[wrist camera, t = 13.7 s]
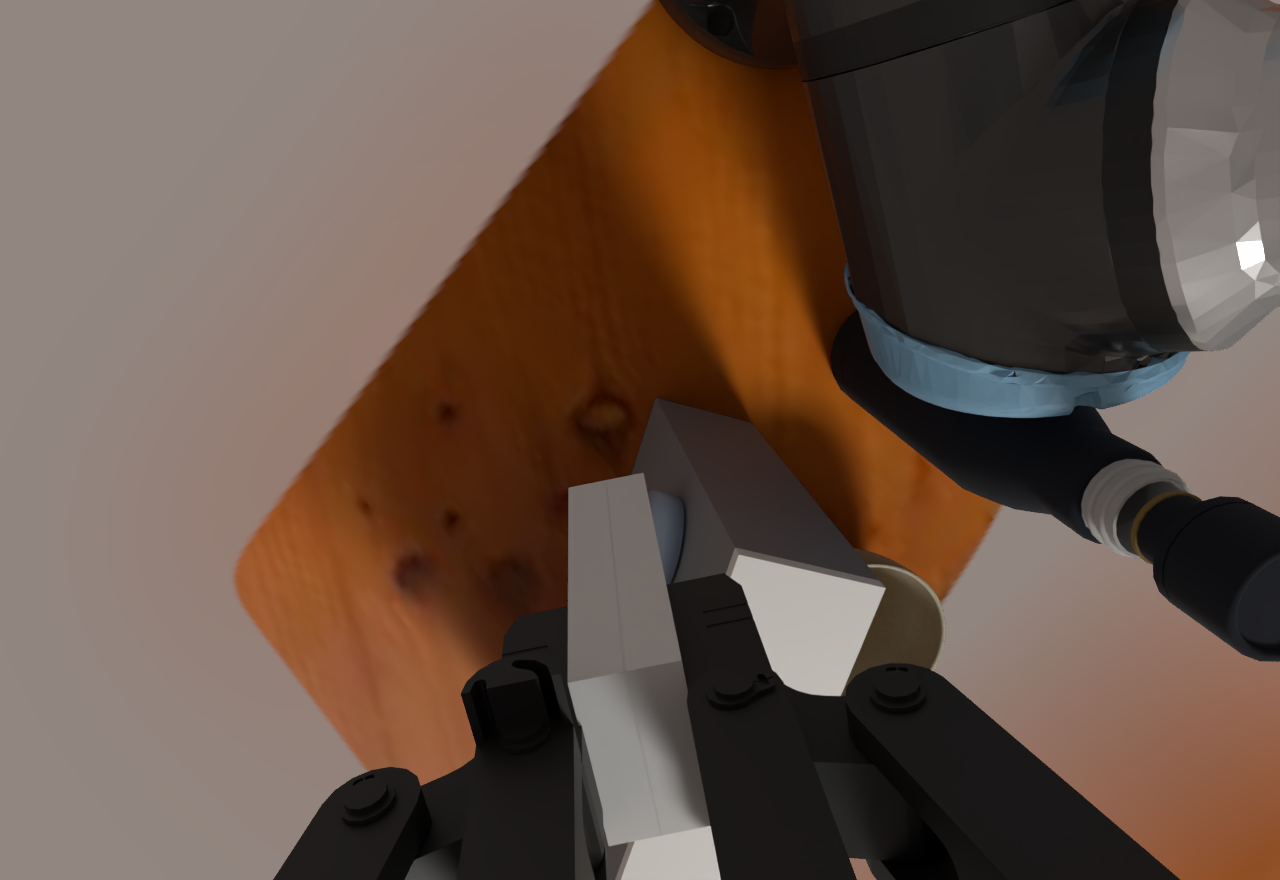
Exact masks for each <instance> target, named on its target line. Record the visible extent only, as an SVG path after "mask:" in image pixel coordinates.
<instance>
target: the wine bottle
mask: <svg viewBox="0 0 1280 880" xmlns="http://www.w3.org/2000/svg"><path fill="white" fill-rule="evenodd" d="M831 363H832V370H833V375H834V377H835V379H836V381H837V383H838V385H839V387H840V389H841V390H842V391H843V392H844V393H846V394H847V395H848V396H849V397H850V398H851V399H852V400H853V401H855V402H856V403H857V404H858V405H860V406H861V407H862V408H863V409H865V410H866V411H867V412H868V413H870V414H871V415H872V416H873V417H875V418H876V419H877V420H878V421H880V422H881V423H882V424H883V425H884V426H886V427H887V428H888V429H889V430H891V431H892V432H893V433H894V434H896V435H897V436H898V437H899V438H901V439H902V440H903V441H904V442H906V443H907V444H908V445H909V446H911V447H912V448H913V449H914V450H916V451H917V452H918V453H919V454H921V455H922V456H923V457H924V458H926V459H927V460H928V461H929V462H931V463H932V464H933V465H934V466H936V467H937V468H938V469H939V470H941V471H942V472H943V473H944V474H946V475H947V476H948V477H949V478H951V479H952V480H953V481H954V482H955V483H957V484H958V485H959V486H960V487H962V488H963V489H965V490H967V491H970V492H972V493H974V494H977V495H979V496H981V497H984V498H986V499H989V500H991V501H994V502H996V503H999V504H1002V505H1005V506H1008V507H1011V508H1013V509H1017V510H1024V511H1030V512H1037V513H1045V514H1051V515H1053V516H1054V517H1055V518H1057V519H1058V520H1059V521H1061V522H1062V523H1064V524H1065V525H1067V526H1068V527H1069V528H1071V529H1072V530H1074V531H1075V532H1076V533H1077V534H1079V535H1080V536H1082V537H1083V538H1085V539H1088V540H1090V541H1093V542H1095V543H1098V544H1105V545H1107V546H1108V547H1109V548H1110V549H1111V550H1112V551H1113V552H1115V553H1118V554H1121V555H1123V556H1126V557H1133V558H1136V559H1143V560H1144V561H1146V562H1147V563H1150V564H1153V574H1154V575H1153V577H1154V580H1155V582H1156V585H1157V587H1158V590H1159V592H1160V593H1161V594H1162V595H1163V596H1164V597H1165V598H1166V599H1167V600H1168V601H1169V602H1170V603H1172V604H1173V605H1175V606H1176V607H1177V608H1179V609H1181V610H1182V611H1183V612H1184V613H1186V614H1187V615H1189V616H1190V617H1191V618H1193V619H1194V620H1195V621H1197V622H1198V623H1200V624H1201V625H1202V626H1204V627H1205V628H1207V629H1208V630H1209V631H1211V632H1212V633H1214V634H1215V635H1216V636H1218V637H1219V638H1220V639H1222V640H1223V641H1224V642H1226V643H1227V644H1229V645H1230V646H1231V647H1233V648H1234V649H1236V650H1237V651H1238V652H1240V653H1241V654H1243V655H1245V656H1247V657H1250V658H1253V659H1255V660H1258V661H1277V662H1279V661H1280V517H1278V516H1276V515H1274V514H1272V513H1270V512H1268V511H1266V510H1264V509H1262V508H1260V507H1258V506H1256V505H1254V504H1252V503H1250V502H1248V501H1245V500H1243V499H1241V498H1238V497H1221V496H1220V497H1216V498H1213V499H1209V500H1205V501H1202V500H1201V499H1200V498H1198V497H1197V496H1195V495H1193V494H1192V491H1191V490H1190V489H1189V488H1188V487H1187V486H1186V484H1185V482H1184V481H1183V480H1182V479H1181V478H1180V477H1179V476H1178V475H1177V474H1176V473H1174V472H1172V471H1169V470H1167V469H1165V468H1164V467H1163V466H1162V465H1161V464H1160V462H1159V461H1158V460H1157V459H1155V457H1154V456H1153V455H1152V454H1150V453H1149V452H1147V451H1145V450H1143V449H1141V448H1139V447H1137V446H1135V445H1133V444H1131V443H1129V442H1127V441H1125V440H1123V439H1121V438H1119V437H1117V436H1116V435H1114V434H1112V433H1111V432H1110V430H1109V428H1108V427H1107V425H1106V423H1105V422H1104V420H1103V419H1102V418H1101V416H1100V415H1099V413H1098V412H1097V410H1096V409H1095V408H1094V407H1090V406H1082V405H1077V406H1075V407H1074V410H1073V411H1072V412H1071V414H1069V415H1063V416H1053V417H1039V418H1009V417H994V416H984V415H977V414H971V413H965V412H960V411H955V410H951V409H947V408H943V407H940V406H937V405H934V404H931V403H929V402H926V401H924V400H921V399H919V398H917V397H915V396H913V395H911V394H909V393H908V392H906V391H905V390H903V389H902V388H900V387H899V386H897V385H896V384H894V383H893V382H892V381H891V380H890V378H888V377H887V376H886V375H885V373H884V372H883V371H882V369H881V368H880V366H879V365H878V363H877V362H876V361H875V360H874V358H873V356H872V354H871V351H870V348H869V345H868V342H867V338H866V335H865V332H864V328H863V325H862V321H861V318H860V315H859V311H858V310H857V311H856V312H854V313H853V314H852V315H851V316H850V317H849V318H848V319H847V321H846V322H845V323H844V324H843V325H842V326H841V328H840V330H839V332H838V334H837V336H836V338H835V340H834V343H833V349H832V355H831Z"/></svg>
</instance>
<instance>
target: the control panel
mask: <svg viewBox="0 0 1280 880" xmlns="http://www.w3.org/2000/svg"><path fill="white" fill-rule="evenodd" d="M639 473H644V478H645V483H646V488H647V493H648V492H650V491H652V490H653V491H657V492H662V493H666V494H670V495H674V496H678V497H680V499H681V500H682V503H683V508H684V530H683V534H684V535H683V538H682V545H681V550H680V554H679V559H678V562H677V566H676V569H675V572H674V575H673V578H672V580H671V583H670V584H672V583H677V582H682V581H687V580H692V579H697V578H702V577H707V576H712V575H717V574H722V573H725V574H726V575H727V576H729V577H730V578H732V579H733V580H734V581H736V582H737V583H739V584H740V585H742V588H743V591H744V594H745V596H746V599H747V602H748V606H749V607H750V610H751V613H752V616H753V620H754V621H755V624H756V627H757V629H758V632H759V635H760V638H761V640H762V643H763V646H764V649H765V651H766V654H767V657H768V660H769V662H770V665H771V668H772V670H773V671H774V672H776V673H777V674H778V676H779V677H780V678H781V680H782V681H783V682H784V684H785V685H786V686H788V687H790V688H793V689H795V690H797V691H800V692H804V693H808V694H813V695H823V696H841V694H842V692H843V689H844V687H845V685H846V682H847V680H848V677H849V675H850V673H851V670H852V668H853V666H854V663H855V661H856V658H857V656H858V654H859V651H860V649H861V646H862V644H863V642H864V639H865V637H866V634H867V632H868V630H869V627H870V625H871V622H872V620H873V618H874V615H875V613H876V610H877V608H878V606H879V603H880V601H881V598H882V596H883V594H884V591H885V589H886V588H885V586H884V585H883V584H882V583H881V582H880V580H879V579H878V578H877V577H876V575H875V574H874V573H873V572H872V570H871V569H870V568H869V567H868V566H867V564H866V563H865V562H864V561H863V559H862V558H861V557H860V556H859V554H858V553H857V552H856V551H855V549H854V548H853V547H852V546H851V545H850V543H849V542H848V541H847V540H846V538H845V537H844V536H843V535H842V533H841V532H840V531H839V530H838V528H837V527H836V526H835V525H834V524H833V522H832V521H831V520H830V519H829V517H828V516H827V515H826V514H825V512H824V511H823V510H822V509H821V507H820V506H819V505H818V504H817V503H816V501H815V500H814V499H813V498H812V496H811V495H810V494H809V493H808V491H807V490H806V489H805V488H804V486H803V485H802V484H801V483H800V482H799V480H798V479H797V478H796V477H795V475H794V474H793V473H792V472H791V470H790V469H789V468H788V467H787V465H786V464H785V463H784V462H783V461H782V459H781V458H780V457H779V456H778V454H777V453H776V452H775V451H774V449H773V448H772V447H771V446H770V444H769V443H768V442H767V441H766V440H765V438H764V437H763V436H762V435H761V433H760V432H759V431H758V430H757V428H756V427H755V426H754V425H753V423H751V422H747V421H743V420H739V419H736V418H732V417H728V416H724V415H720V414H717V413H713V412H709V411H705V410H701V409H697V408H694V407H690V406H686V405H682V404H678V403H675V402H671V401H667V400H663V399H659V398H655V401H654V405H653V408H652V411H651V414H650V417H649V420H648V423H647V427H646V430H645V433H644V436H643V439H642V442H641V445H640V448H639V452H638V455H637V458H636V461H635V464H634V467H633V470H632V474H631V475H634V474H639ZM604 846H605V851H606V855H607V859H608V863H609V867H610V871H611V875H612V880H721V878H720V872H719V867H718V862H717V857H716V852H715V846H714V841H713V836H712V831H711V826H707V827H702V828H697V829H692V830H687V831H682V832H677V833H672V834H667V835H663V836H658V837H653V838H648V839H643V840H638V841H633V842H628V843H623V844H618V845H613V846H608V842H607V838H606V834H605V830H604Z"/></svg>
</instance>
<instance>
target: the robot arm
mask: <svg viewBox="0 0 1280 880" xmlns="http://www.w3.org/2000/svg"><path fill="white" fill-rule="evenodd" d="M659 1H660V3H661V4H662V6H663V7H664V8H665V10H666V11H667V12H668V14H669V15H670V16H671V18H672V19H673V20H674V21H675V22H676V23H677V24H678V25H679V26H680V27H681V28H682V29H683V30H684V31H685V32H686V33H687V34H688V35H689V36H690V37H692V38H693V39H694V40H695V41H697V42H698V43H699V44H701V45H702V46H704V47H705V48H707V49H708V50H710V51H712V52H713V53H715V54H717V55H719V56H721V57H723V58H726V59H728V60H731V61H733V62H737V63H740V64H743V65H747V66H752V67H758V68H767V69H786V68H795V67H799V69H800V74H801V78H802V85H803V89H804V93H805V97H806V101H807V105H808V109H809V113H810V117H811V121H812V125H813V129H814V133H815V137H816V141H817V145H818V149H819V153H820V157H821V162H822V166H823V170H824V174H825V178H826V182H827V186H828V190H829V194H830V198H831V202H832V206H833V210H834V214H835V218H836V222H837V226H838V230H839V234H840V238H841V242H842V246H843V251H844V255H845V259H846V265H845V267H844V279H845V285H846V289H847V292H848V294H849V296H850V297H851V298H852V301H853V304H854V306H855V307H856V308H857V310H858V311H859V315H860V318H861V321H862V325H863V328H864V332H865V335H866V338H867V342H868V345H869V348H870V351H871V354H872V356H873V358H874V360H875V361H876V362H877V363H878V365H879V366H880V368H881V369H882V371H883V372H884V373H885V375H886V376H887V377H888V378H890V380H891V381H892V382H893V383H894V384H896V385H897V386H899V387H900V388H902V389H903V390H905V391H906V392H908V393H909V394H911V395H913V396H915V397H917V398H919V399H921V400H924V401H926V402H929V403H931V404H934V405H937V406H940V407H943V408H947V409H951V410H955V411H960V412H965V413H971V414H977V415H984V416H994V417H1009V418H1039V417H1053V416H1063V415H1069V414H1071V412H1072V411H1073V410H1074V407H1075V406H1077V405H1082V406H1090V407H1094V408H1098V409H1105V408H1109V407H1113V406H1117V405H1120V404H1124V403H1127V402H1130V401H1133V400H1135V399H1138V398H1140V397H1143V396H1145V395H1146V394H1148V393H1150V392H1152V391H1154V390H1155V389H1157V388H1159V387H1161V386H1163V385H1165V384H1166V383H1167V382H1168V381H1169V380H1170V379H1172V378H1173V377H1174V376H1175V375H1176V374H1177V373H1178V372H1179V370H1180V369H1181V368H1182V366H1183V365H1184V363H1185V362H1186V359H1187V356H1188V354H1189V353H1190V351H1220V350H1224V349H1227V348H1230V347H1232V346H1233V345H1235V344H1236V343H1237V342H1238V341H1239V340H1240V339H1241V338H1243V336H1245V335H1246V334H1247V333H1248V332H1249V331H1250V330H1252V328H1254V327H1255V326H1256V325H1257V324H1258V323H1260V322H1261V320H1263V319H1264V318H1265V317H1266V316H1267V315H1269V314H1270V313H1271V312H1272V311H1273V310H1274V309H1276V308H1277V307H1280V4H1276V3H1273V2H1271V1H1269V0H659ZM502 656H503V658H502V659H501V660H498V661H495V662H493V663H491V664H489V665H488V666H486V667H484V668H482V669H480V670H479V671H478V672H476V673H475V674H474V675H473V676H472V677H471V678H470V679H469V680H468V681H467V682H466V684H465V686H464V688H463V690H462V692H461V696H462V699H463V703H464V706H465V709H466V713H467V716H468V719H469V723H470V726H471V729H472V733H473V736H474V739H475V743H476V750H475V757H474V758H473V759H472V760H471V761H469V762H468V763H466V764H465V765H464V766H462V767H461V768H459V769H457V770H455V771H453V772H451V773H449V774H447V775H445V776H443V777H441V778H438V779H436V780H434V781H431V782H429V783H427V784H424V785H422V786H420V783H419V780H418V777H417V776H416V775H415V774H413V773H412V772H410V771H409V770H407V769H402V768H395V767H387V768H382V769H376V770H371V771H369V772H366V773H364V774H361V775H359V776H357V777H354V778H352V779H351V780H349V781H348V782H346V783H345V784H344V785H342V786H340V787H339V788H338V789H336V790H335V791H334V792H333V793H332V794H331V795H330V797H328V799H327V800H326V801H325V802H324V803H323V804H322V806H321V807H320V809H319V810H318V812H317V813H316V815H315V817H314V818H313V819H312V821H311V822H310V824H309V826H308V827H307V829H306V830H305V832H304V833H303V835H302V836H301V838H300V840H299V841H298V842H297V844H296V845H295V847H294V849H293V850H292V852H291V853H290V855H289V856H288V858H287V859H286V861H285V863H284V864H283V866H282V867H281V869H280V870H279V872H278V873H277V875H276V876H275V878H274V879H273V880H612V875H611V871H610V867H609V863H608V859H607V855H606V851H605V846H604V830H605V834H606V838H607V842H608V846H613V845H618V844H623V843H628V842H633V841H638V840H643V839H648V838H653V837H658V836H663V835H667V834H672V833H677V832H682V831H687V830H692V829H697V828H702V827H707V826H711V831H712V836H713V841H714V846H715V852H716V857H717V862H718V867H719V872H720V878H721V880H857V879H856V876H855V873H854V871H853V868H852V865H851V863H850V860H849V858H859V859H866V861H867V863H868V866H869V868H870V870H871V872H872V874H873V875H874V877H875V878H876V879H877V880H1180V879H1179V878H1178V877H1176V876H1175V875H1174V874H1173V873H1172V872H1170V871H1169V870H1168V869H1167V868H1166V867H1165V866H1164V865H1162V864H1161V863H1160V862H1159V861H1158V860H1156V859H1155V858H1154V857H1153V856H1152V855H1151V854H1150V853H1148V852H1147V851H1146V850H1145V849H1144V848H1142V847H1141V846H1140V845H1139V844H1138V843H1137V842H1136V841H1134V840H1133V839H1132V838H1131V837H1130V836H1128V835H1127V834H1126V833H1125V832H1124V831H1123V830H1122V829H1120V828H1119V827H1118V826H1117V825H1116V824H1114V823H1113V822H1112V821H1111V820H1110V819H1109V818H1107V817H1106V816H1105V815H1104V814H1103V813H1102V812H1100V811H1099V810H1098V809H1097V808H1096V807H1095V806H1093V805H1092V804H1091V803H1090V802H1089V801H1087V800H1086V799H1085V798H1084V797H1083V796H1082V795H1081V794H1079V793H1078V792H1077V791H1076V790H1075V789H1073V788H1072V787H1071V786H1070V785H1069V784H1068V783H1066V782H1065V781H1064V780H1063V779H1062V778H1061V777H1059V776H1058V775H1057V774H1056V773H1055V772H1054V771H1052V770H1051V769H1050V768H1049V767H1048V766H1047V765H1045V764H1044V763H1043V762H1042V761H1041V760H1040V759H1038V758H1037V757H1036V756H1035V755H1034V754H1033V753H1031V752H1030V751H1029V750H1028V749H1027V748H1026V747H1024V746H1023V745H1022V744H1021V743H1020V742H1019V741H1017V740H1016V739H1015V738H1014V737H1013V736H1012V735H1010V734H1009V733H1008V732H1007V731H1006V730H1004V729H1003V728H1002V727H1001V726H1000V725H999V724H997V723H996V722H995V721H994V720H993V719H992V718H991V717H989V716H988V715H987V714H986V713H985V712H984V711H982V710H981V709H980V708H978V706H976V705H975V704H974V703H973V702H972V701H971V700H969V699H968V698H967V697H966V696H965V695H964V694H962V693H961V692H960V691H959V690H958V689H957V688H955V687H954V686H953V685H952V684H951V683H950V682H948V681H947V680H946V679H945V678H944V677H942V676H941V675H939V674H937V673H935V672H934V671H932V670H930V669H929V668H925V667H921V666H917V665H913V664H909V663H888V664H884V665H879V666H875V667H870V668H868V669H867V670H865V671H863V672H861V673H859V674H858V675H856V676H855V677H854V678H853V679H852V680H851V682H850V683H849V684H848V685H847V687H846V694H845V696H823V695H813V694H808V693H804V692H800V691H797V690H795V689H793V688H790V687H788V686H786V685H785V684H784V682H783V681H782V680H781V678H780V677H779V676H778V674H777V673H776V672H774V671H773V670H772V668H771V665H770V662H769V660H768V657H767V654H766V651H765V649H764V646H763V643H762V640H761V638H760V635H759V632H758V629H757V627H756V624H755V621H754V620H753V616H752V613H751V610H750V607H749V606H748V602H747V599H746V596H745V594H744V591H743V588H742V585H740V584H739V583H737V582H736V581H734V580H733V579H732V578H730V577H729V576H727V575H726V574H725V573H722V574H717V575H712V576H707V577H702V578H697V579H692V580H687V581H682V582H677V583H672V584H667V585H666V581H665V576H664V571H663V566H662V561H661V556H660V551H659V547H658V542H657V537H656V532H655V527H654V522H653V517H652V512H651V507H650V503H649V498H648V493H647V488H646V483H645V478H644V473H639V474H634V475H629V476H624V477H619V478H614V479H609V480H604V481H599V482H594V483H589V484H584V485H579V486H574V487H569V488H568V607H563V608H558V609H553V610H548V611H544V612H539V613H534V614H529V615H524V616H519V617H518V618H517V619H516V621H515V622H514V623H513V625H512V626H511V627H510V629H509V630H508V631H507V633H506V634H505V636H504V644H503V652H502Z"/></svg>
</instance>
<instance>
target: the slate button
mask: <svg viewBox="0 0 1280 880" xmlns="http://www.w3.org/2000/svg"><path fill="white" fill-rule="evenodd" d="M648 498H649V503H650V507H651V512H652V517H653V522H654V527H655V532H656V537H657V542H658V547H659V551H660V556H661V561H662V566H663V571H664V576H665V581H666V585H667V584H670V583H671V580H672V578H673V575H674V572H675V569H676V566H677V562H678V559H679V554H680V550H681V545H682V538H683V535H684V534H683V530H684V508H683V503H682V500H681V499H680V497H678V496H674V495H670V494H666V493H662V492H657V491H653V490H652V491H650V492H648Z"/></svg>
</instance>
